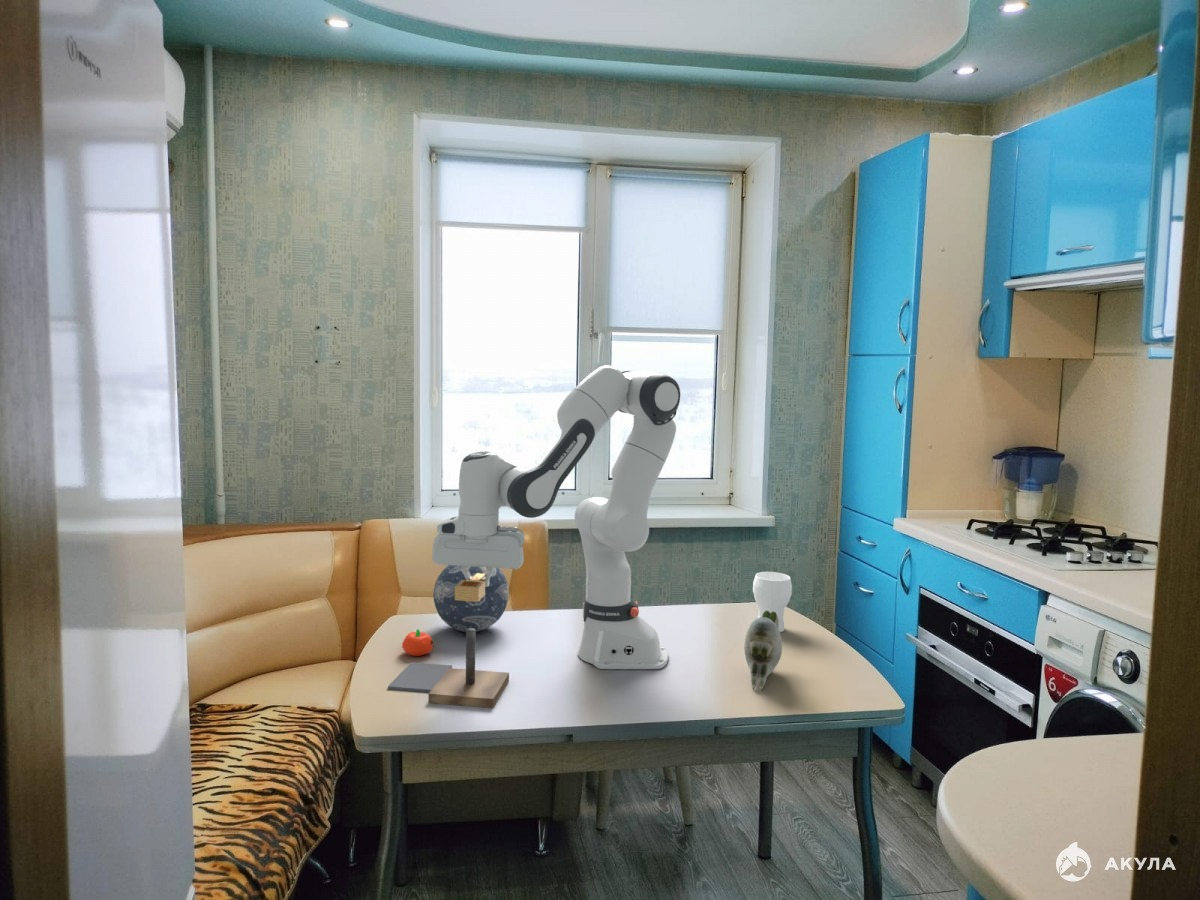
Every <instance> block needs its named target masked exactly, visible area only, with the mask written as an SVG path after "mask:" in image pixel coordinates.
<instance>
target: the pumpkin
mask: <svg viewBox="0 0 1200 900" xmlns="http://www.w3.org/2000/svg"><path fill="white" fill-rule="evenodd" d="M403 639H404V640H403V641H402V644H401V648H402V649H403V651H404V652H405V653H407V654H408V655H410V656H414V657H417V656H418V657H420V656H424V655H427V654H429V653H431V651H432V650H433V648H434V641H433V638H432V637H431V635H429V634H428V633H426V632H423V631H420V629H419V628H417V629H416V631H412V632H411V631H410V632H409V633H407V634H406V636H405V637H404V638H403Z"/></svg>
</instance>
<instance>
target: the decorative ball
mask: <svg viewBox="0 0 1200 900" xmlns="http://www.w3.org/2000/svg"><path fill="white" fill-rule="evenodd" d="M468 571H469V572H470V574H471V576H474V575H475V574H476V573H483V574H485V577H486V576H487V574H488V573H489V572H486V567H472V566H470V568H469V569H468ZM461 580H466V578H465V576H464V574H463V573H462V571H461V566H455V565H445V567H444V569H443V570H442V571H441V572H440V574H439V575H438V577H437V579H436V581H435V583H434V587H433V603H434V607H435V609H436V611H437V614H438V615H439V617H440V619H441V621H443V622H444V623H445V625H448V626H449V627H450V628H452V629H453V630H456V631H459V632H463V633H464V632H465V633H466V629H469V628H474V629H475V630H476V631H475V633H476V632H481V631H484V630H486V629H489V628H490V627H491V626H493V625H494V624H496V623H497V622H498V621H499V620H500V619H501V617H502V616H503V614H504V612H505V611H506V608H507V605H508V602H509V595H510V591H509V589H510V587H509V583H508V580H507V578H506V576H505V574H504V573H503V572H502V570H501V568H495V570H494V572H493V573H492V575H491V577H490V580H489V586H488V587H485V595H484V596H483V597H482V598H481V600H480V601H479V602H475V601H461V600H455V586H456V585H457V584H458V583H459V582H460V581H461Z"/></svg>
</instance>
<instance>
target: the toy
mask: <svg viewBox="0 0 1200 900" xmlns="http://www.w3.org/2000/svg"><path fill="white" fill-rule="evenodd" d="M778 625H779V624H778V617H777V614H776V613H775V612H774V611H773V612H771V613H770V612H769V611H765V612H764V613H763V614H762V616H761V617H759V618H758V617H757V618H755V619H754V620H753V621H752V622H751V623H750V624H749V626H748V628H747V630H746V633H745V637H744V648H743V650H744V657H745V660H746V664H747V666H748V668H749V671H750V682H751V683H750V684H751V686H752V690H755V688H756V685H757V683H758V684H759V688H760V692H762V691H763V688H764V687H765V684H766V680H767V678H768V677H769V675H771V674H772V672H773V671H774V670H775V669H776V667H778V666H777V665H778V664H779V662H780V660H781V657H782V647H783V644H782V643H783V642H782V637H781V632H779V630H778Z"/></svg>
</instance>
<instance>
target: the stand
mask: <svg viewBox="0 0 1200 900" xmlns="http://www.w3.org/2000/svg"><path fill="white" fill-rule="evenodd" d="M475 631H476V630H475V629H474V628H469V629H466V632H465V634H466V635H465V668H453V667H452V668H449V669H448V670H447V672H446V673H445V674H444V675H443V677H442V678H441V679H440V680H439V681H438V683H437V684H436V685H435V686H434V688H433V689H432V690H431V691H430V692H428V704H442V705H451V706H452V705H453V706H462V707H463V706H464V707H465V706H466V707H475V708H476V707H477V708H489V709H493V708H495V706H496V704H497V703H498V700H499V699H500V697H501V695H502V694H503V692H504V690H505V689H506V687H507V685H508V684H509V682H510V672H504V671H493V670H490V671H489V670H481V669H479V670H478V669H476V632H475Z"/></svg>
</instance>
